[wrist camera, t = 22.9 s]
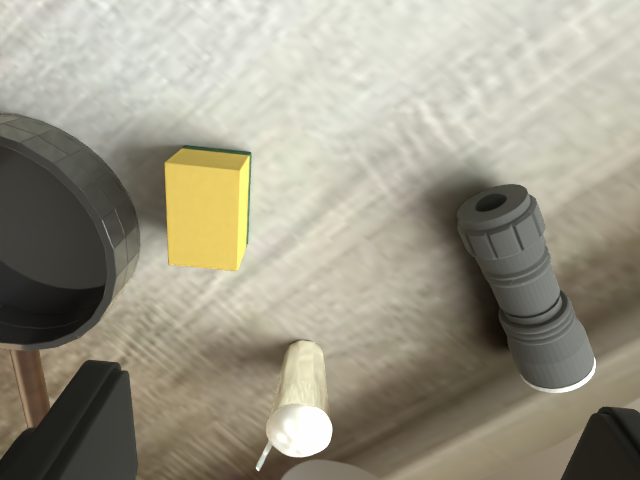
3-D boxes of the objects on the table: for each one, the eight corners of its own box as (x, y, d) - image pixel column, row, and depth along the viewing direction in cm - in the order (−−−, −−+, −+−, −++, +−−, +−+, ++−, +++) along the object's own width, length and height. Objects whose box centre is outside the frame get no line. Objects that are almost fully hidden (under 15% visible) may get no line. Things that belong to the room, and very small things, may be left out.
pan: (-112, 101, 31) (-180, 112, 26) (132, 127, 31) (102, 142, 27) (-53, 305, 37) (-100, 339, 33) (146, 324, 38) (124, 360, 34)
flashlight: (441, 203, 33) (460, 233, 28) (514, 168, 32) (547, 194, 27) (509, 355, 38) (536, 403, 34) (574, 331, 37) (611, 376, 32)
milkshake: (259, 349, 39) (238, 447, 30) (315, 325, 38) (311, 419, 28) (286, 386, 40) (273, 490, 31) (340, 364, 39) (344, 465, 30)
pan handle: (17, 331, 35) (2, 346, 34) (41, 333, 35) (27, 348, 34) (36, 419, 39) (24, 436, 37) (57, 421, 39) (46, 438, 38)
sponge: (184, 145, 31) (163, 162, 27) (251, 152, 32) (240, 170, 28) (186, 237, 34) (168, 264, 30) (248, 243, 35) (237, 271, 31)
